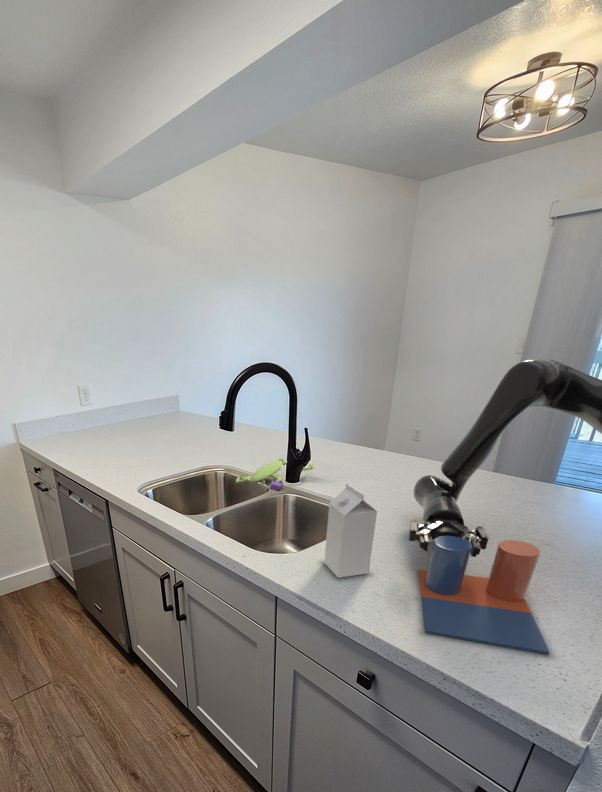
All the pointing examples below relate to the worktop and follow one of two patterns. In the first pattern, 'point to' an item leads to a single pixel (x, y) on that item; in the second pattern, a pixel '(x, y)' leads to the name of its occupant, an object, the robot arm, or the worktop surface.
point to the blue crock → (447, 565)
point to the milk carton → (349, 534)
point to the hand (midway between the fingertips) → (450, 549)
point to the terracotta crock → (512, 570)
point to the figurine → (269, 474)
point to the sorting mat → (480, 617)
